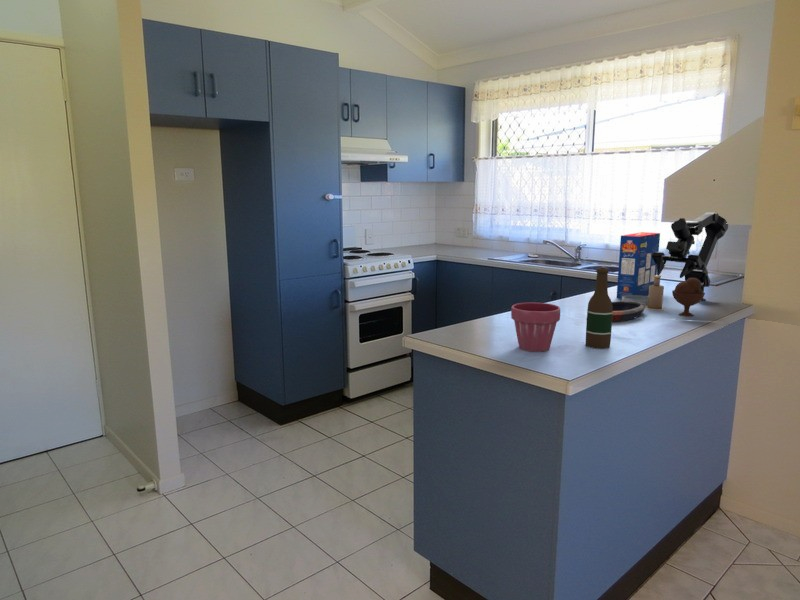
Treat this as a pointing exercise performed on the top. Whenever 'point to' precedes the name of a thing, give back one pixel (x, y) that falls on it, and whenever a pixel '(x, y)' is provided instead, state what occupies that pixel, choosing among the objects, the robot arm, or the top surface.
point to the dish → (626, 310)
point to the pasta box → (637, 263)
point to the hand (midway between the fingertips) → (668, 276)
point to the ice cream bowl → (688, 294)
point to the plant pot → (535, 324)
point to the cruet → (655, 294)
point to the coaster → (654, 309)
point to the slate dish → (636, 298)
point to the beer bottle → (599, 313)
